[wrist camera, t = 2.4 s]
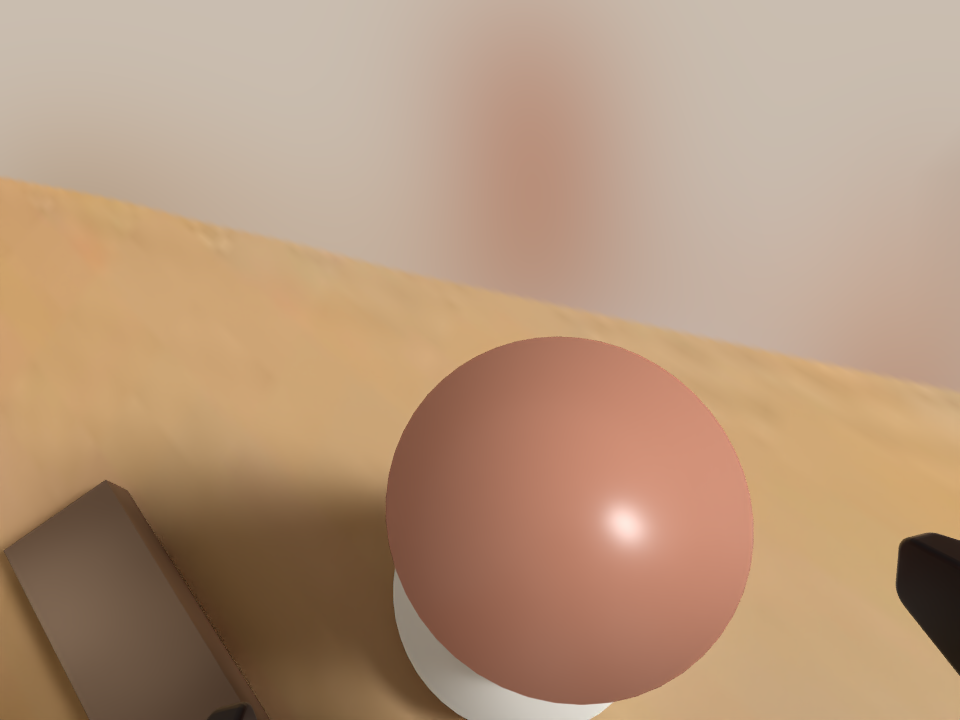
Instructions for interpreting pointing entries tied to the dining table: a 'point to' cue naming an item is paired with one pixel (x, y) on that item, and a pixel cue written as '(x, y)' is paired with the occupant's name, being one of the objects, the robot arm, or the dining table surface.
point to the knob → (563, 531)
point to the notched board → (124, 615)
